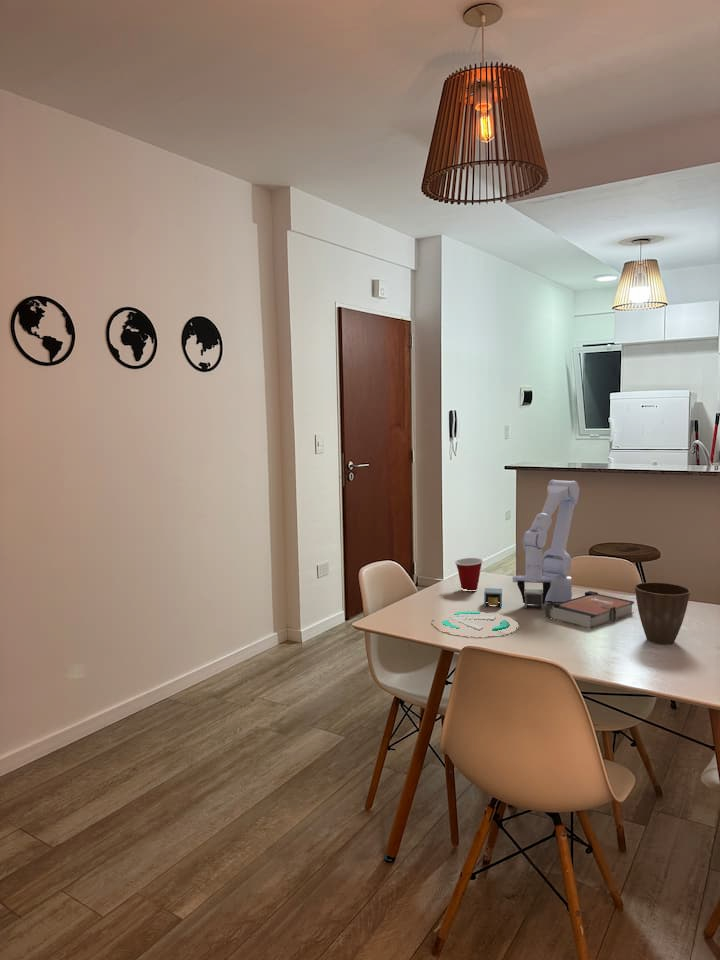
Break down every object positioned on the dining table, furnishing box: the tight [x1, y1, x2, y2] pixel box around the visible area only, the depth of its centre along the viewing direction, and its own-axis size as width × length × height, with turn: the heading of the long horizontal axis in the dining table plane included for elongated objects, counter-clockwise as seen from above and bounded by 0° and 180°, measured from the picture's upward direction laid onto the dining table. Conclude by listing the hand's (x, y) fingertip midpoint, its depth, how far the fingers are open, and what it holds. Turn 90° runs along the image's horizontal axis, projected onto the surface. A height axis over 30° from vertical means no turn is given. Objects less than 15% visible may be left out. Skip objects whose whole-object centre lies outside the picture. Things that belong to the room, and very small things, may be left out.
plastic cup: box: [454, 557, 484, 590], centre depth 263 cm, size 11×11×12 cm
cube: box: [487, 595, 499, 607], centre depth 242 cm, size 4×4×4 cm
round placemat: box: [442, 610, 521, 637], centre depth 221 cm, size 28×28×2 cm
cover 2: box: [524, 588, 544, 610], centre depth 239 cm, size 6×6×6 cm
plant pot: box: [634, 582, 691, 646], centre depth 201 cm, size 15×15×16 cm
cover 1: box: [483, 587, 503, 608], centre depth 242 cm, size 6×6×6 cm
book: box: [545, 590, 635, 630], centre depth 228 cm, size 26×18×5 cm
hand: (533, 602), depth 239 cm, fingers closed on cover 2, 6 cm apart
